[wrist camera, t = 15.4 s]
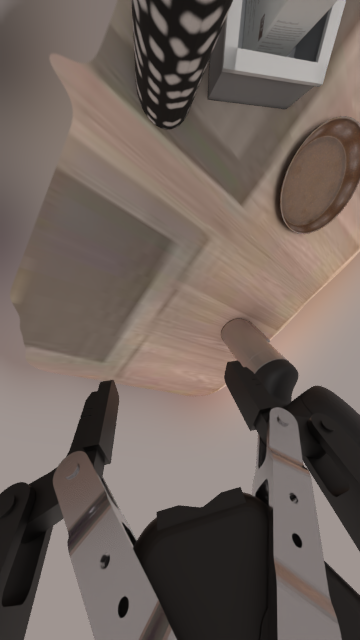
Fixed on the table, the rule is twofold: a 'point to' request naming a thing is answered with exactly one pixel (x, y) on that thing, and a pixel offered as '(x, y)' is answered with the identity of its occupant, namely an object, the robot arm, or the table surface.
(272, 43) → the skincare box
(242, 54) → the bin
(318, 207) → the plant saucer
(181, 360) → the table surface
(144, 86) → the white-spotted black cylinder
